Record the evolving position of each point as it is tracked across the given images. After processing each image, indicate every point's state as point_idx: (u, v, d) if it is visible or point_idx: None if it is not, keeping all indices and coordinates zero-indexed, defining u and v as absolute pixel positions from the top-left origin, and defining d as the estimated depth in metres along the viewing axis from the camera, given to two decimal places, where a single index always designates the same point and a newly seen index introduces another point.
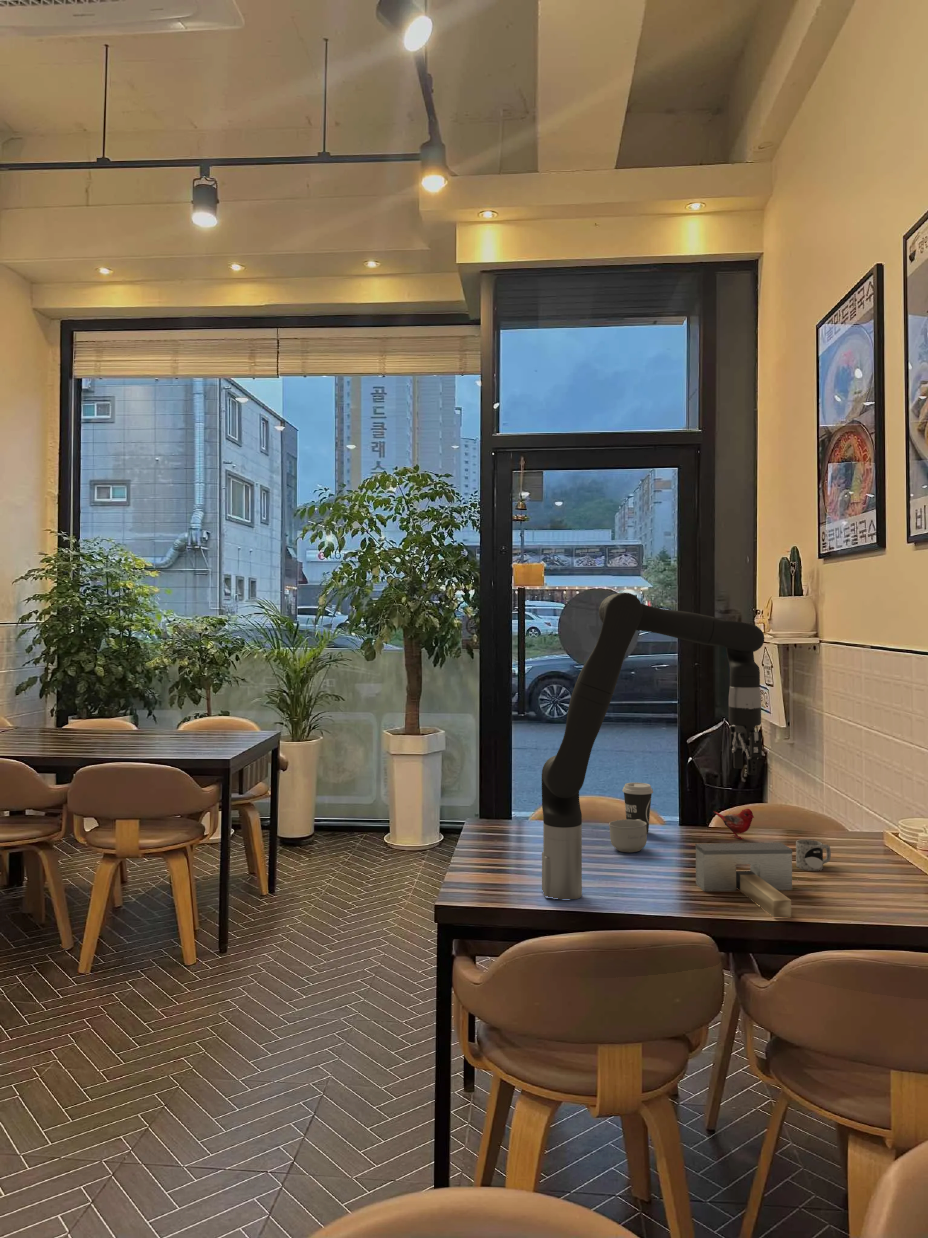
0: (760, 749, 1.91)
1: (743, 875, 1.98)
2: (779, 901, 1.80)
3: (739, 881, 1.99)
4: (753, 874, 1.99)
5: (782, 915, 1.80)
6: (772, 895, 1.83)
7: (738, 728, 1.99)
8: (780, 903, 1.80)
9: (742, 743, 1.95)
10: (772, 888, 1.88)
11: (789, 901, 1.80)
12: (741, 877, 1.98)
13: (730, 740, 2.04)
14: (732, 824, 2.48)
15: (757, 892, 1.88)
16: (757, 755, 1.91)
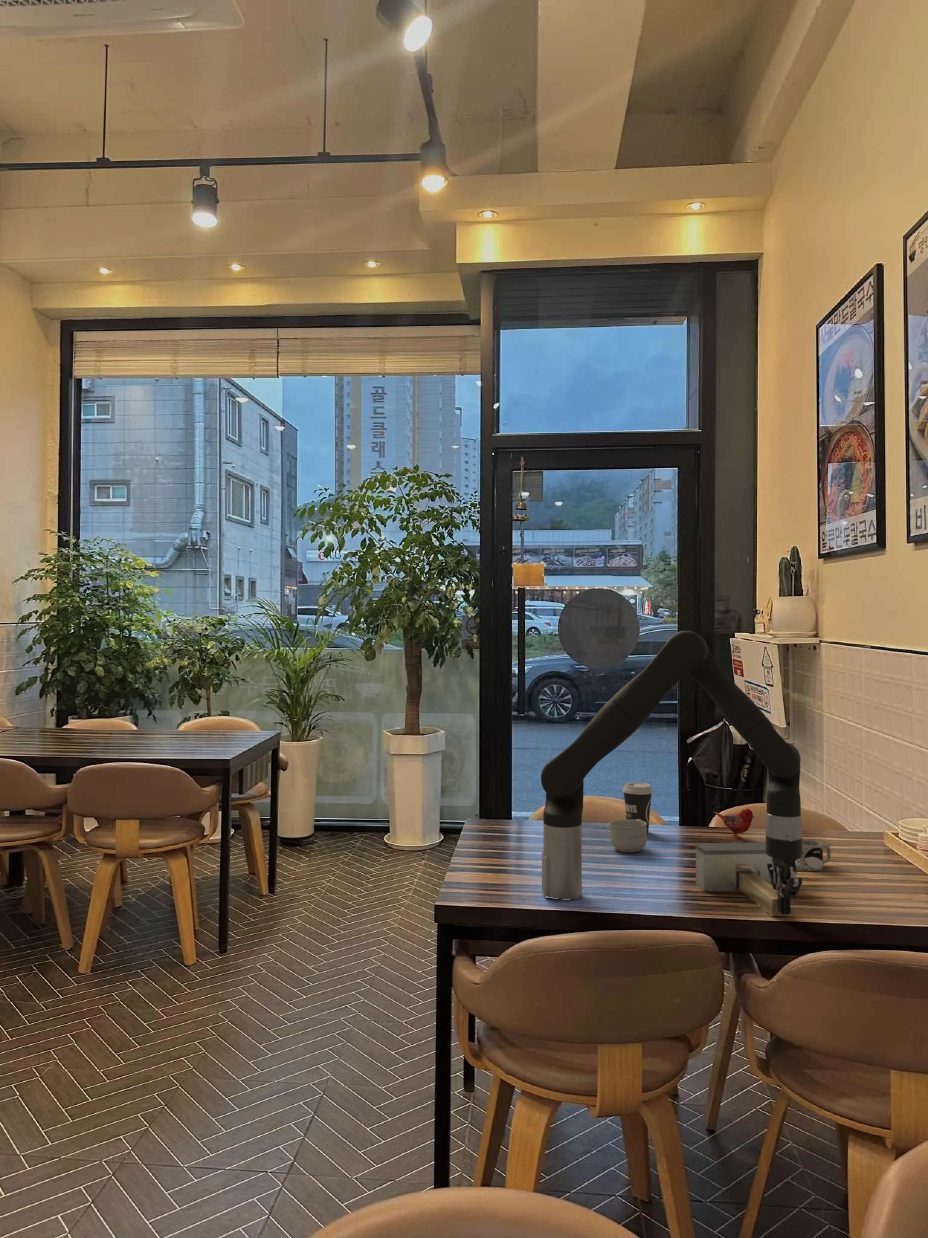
0: (796, 892, 1.75)
1: (742, 874, 1.99)
2: None
3: (738, 880, 2.00)
4: (752, 873, 2.00)
5: (780, 913, 1.80)
6: (771, 893, 1.84)
7: (776, 859, 1.80)
8: None
9: (778, 879, 1.77)
10: (771, 887, 1.89)
11: None
12: (740, 876, 1.98)
13: (772, 879, 1.82)
14: (732, 824, 2.48)
15: (756, 891, 1.89)
16: (791, 895, 1.75)
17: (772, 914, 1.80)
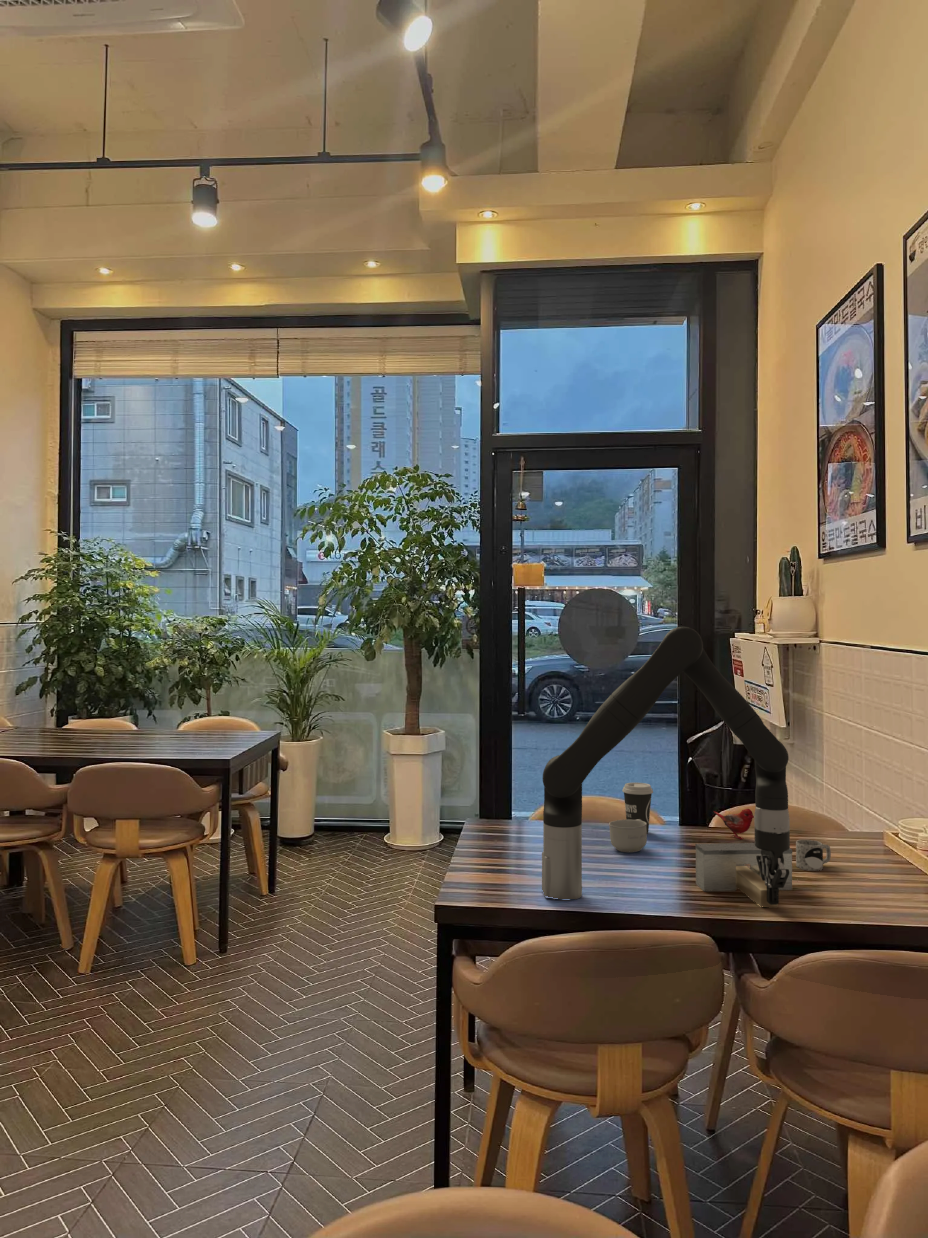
0: (783, 883, 1.81)
1: None
2: (766, 890, 1.87)
3: None
4: (743, 865, 2.06)
5: (769, 904, 1.87)
6: (760, 885, 1.90)
7: (765, 851, 1.86)
8: None
9: (767, 870, 1.83)
10: (760, 879, 1.95)
11: None
12: None
13: (760, 870, 1.88)
14: (732, 824, 2.48)
15: (746, 883, 1.95)
16: (779, 885, 1.81)
17: (761, 905, 1.87)
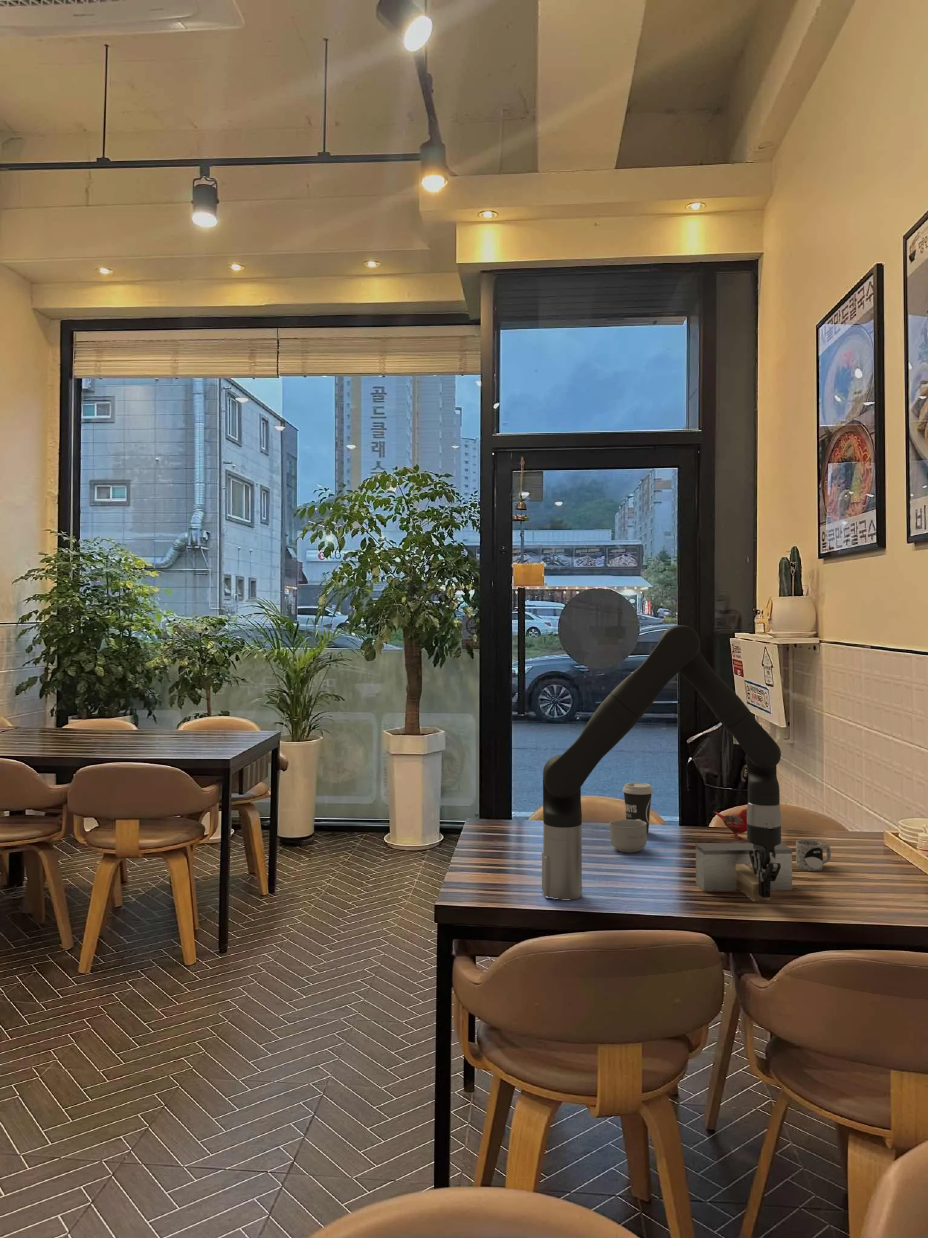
0: (775, 876, 1.85)
1: None
2: (758, 884, 1.91)
3: None
4: None
5: (761, 897, 1.91)
6: (752, 879, 1.95)
7: (757, 846, 1.91)
8: None
9: (759, 864, 1.88)
10: (753, 873, 2.00)
11: None
12: None
13: (753, 865, 1.93)
14: (732, 824, 2.48)
15: (739, 877, 2.00)
16: (770, 879, 1.86)
17: (753, 898, 1.91)
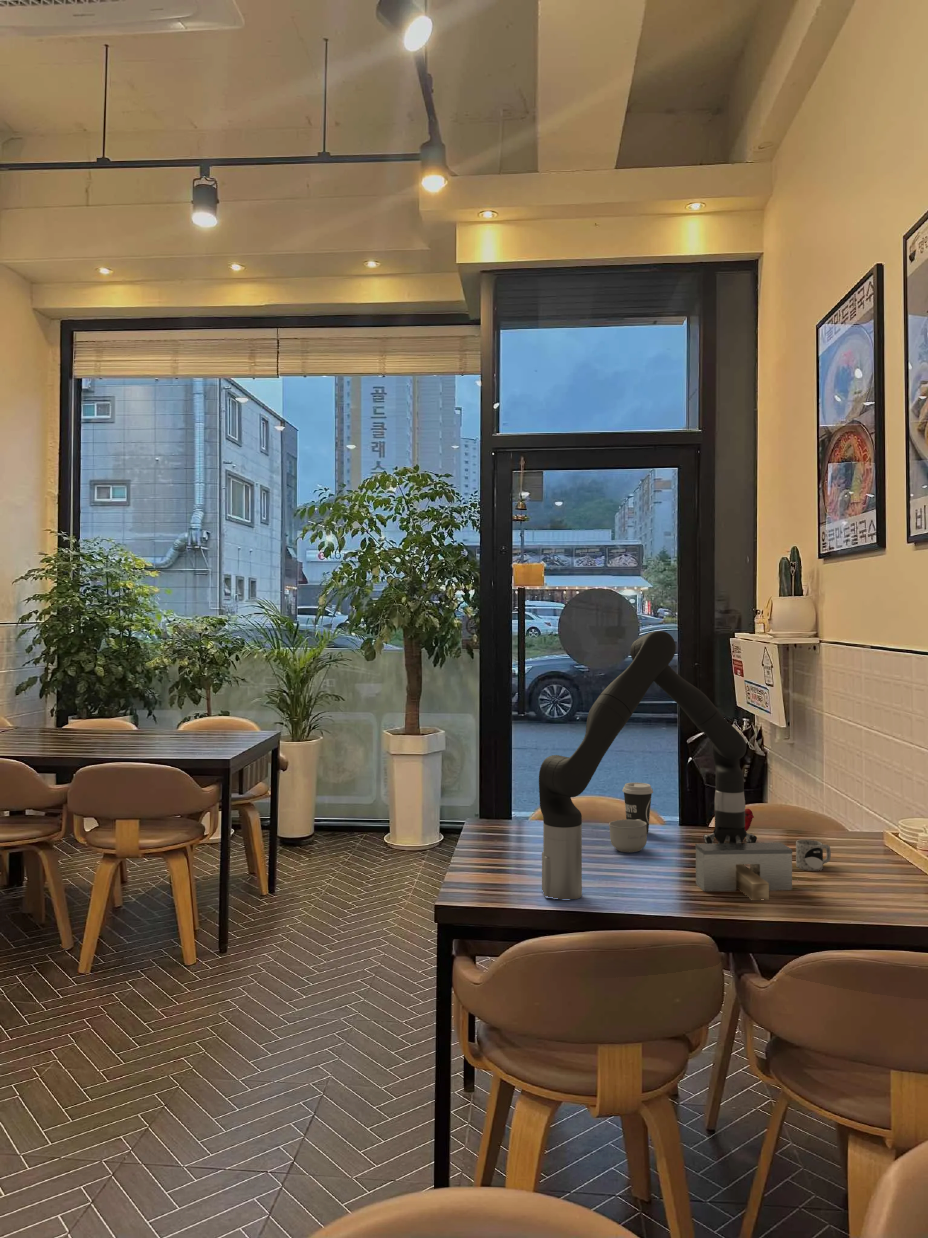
0: None
1: None
2: (758, 884, 1.91)
3: None
4: None
5: (760, 897, 1.91)
6: (751, 879, 1.95)
7: None
8: (759, 886, 1.91)
9: None
10: (752, 873, 2.00)
11: (767, 884, 1.92)
12: None
13: None
14: None
15: (738, 877, 2.00)
16: None
17: (752, 898, 1.91)
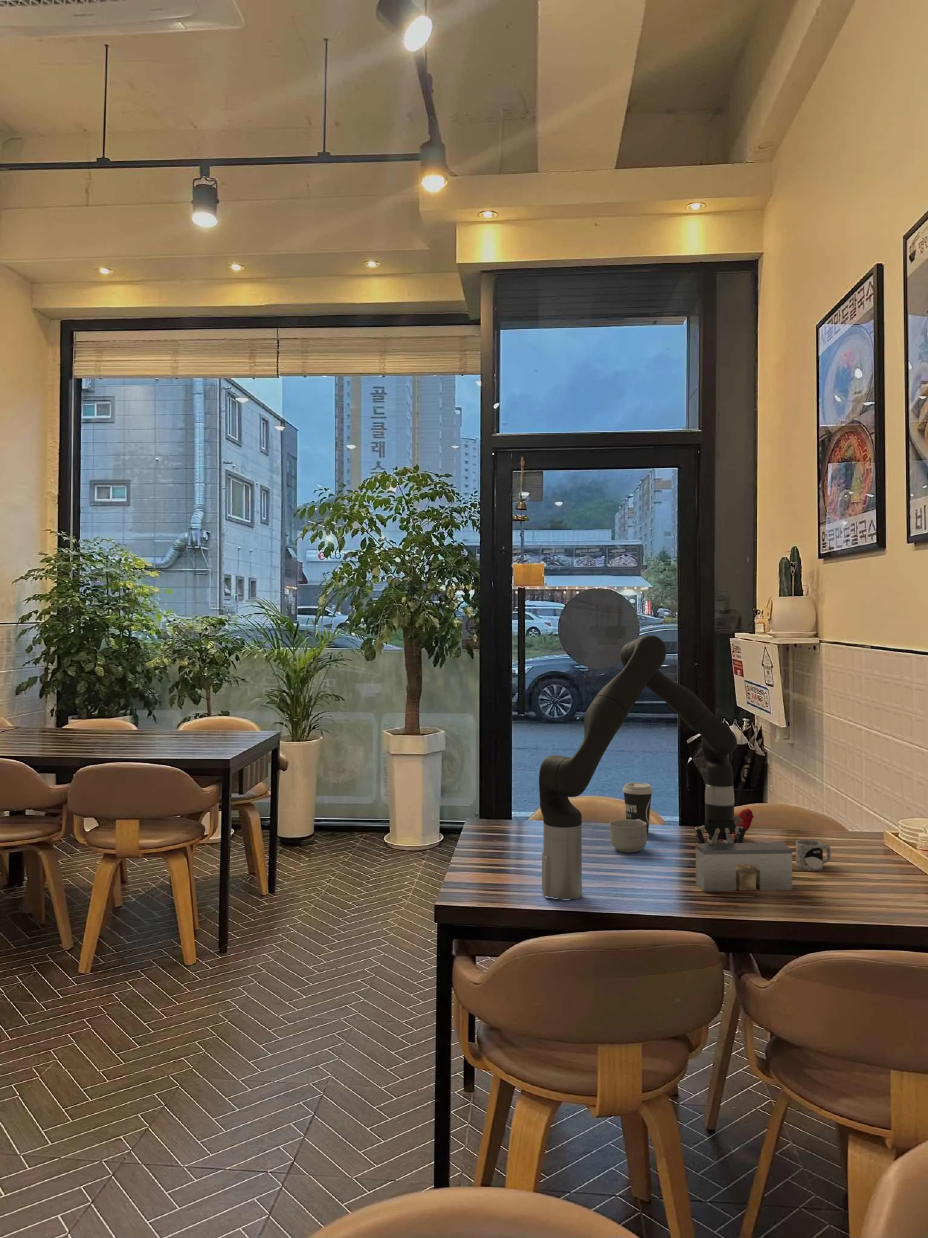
0: None
1: None
2: (745, 874, 1.99)
3: None
4: None
5: (748, 887, 1.99)
6: (739, 869, 2.03)
7: None
8: (746, 876, 1.99)
9: None
10: None
11: (754, 874, 1.99)
12: None
13: None
14: None
15: None
16: None
17: (740, 887, 1.99)
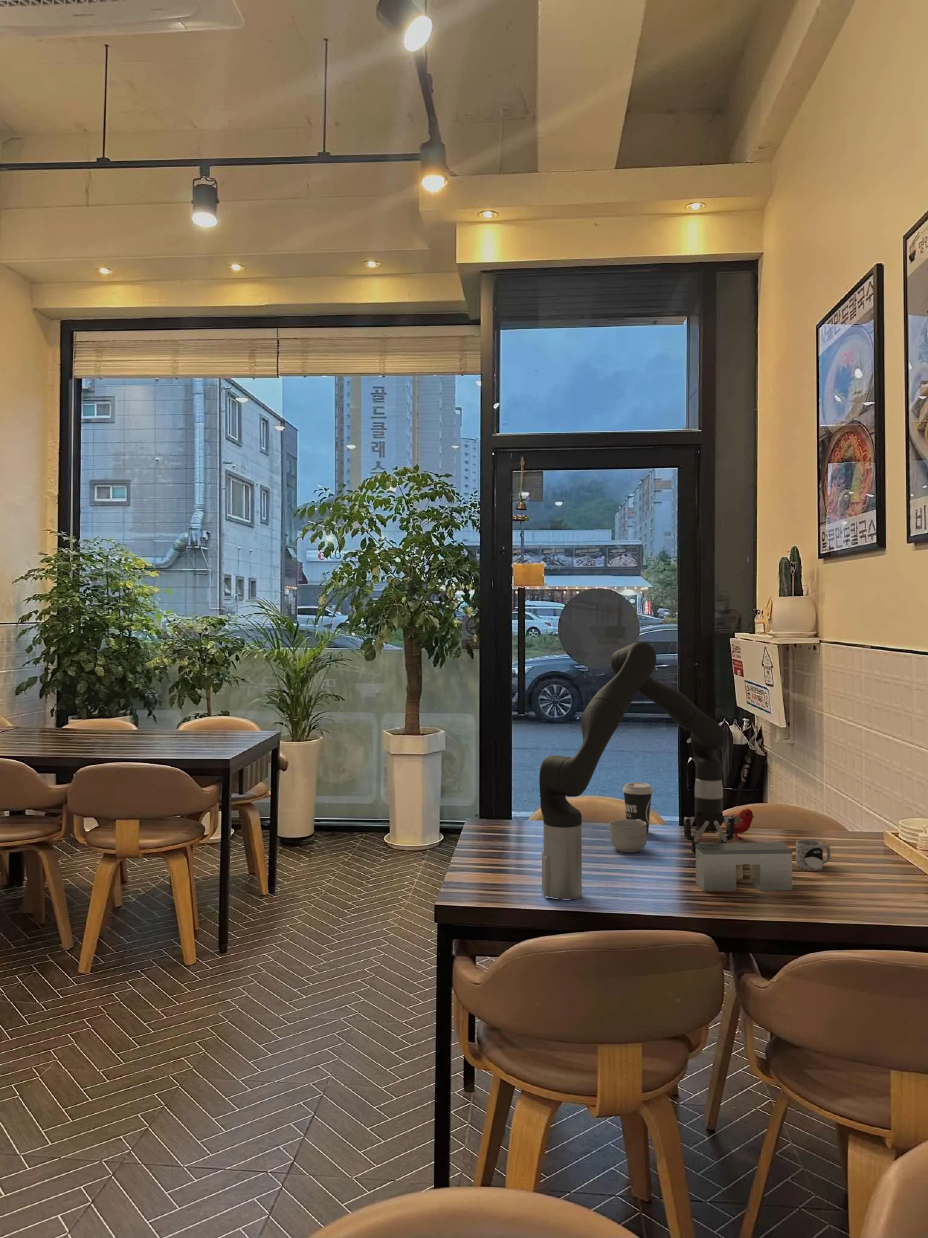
0: None
1: None
2: None
3: None
4: None
5: None
6: None
7: None
8: None
9: None
10: None
11: (741, 865, 2.07)
12: None
13: None
14: None
15: None
16: (686, 837, 2.26)
17: None
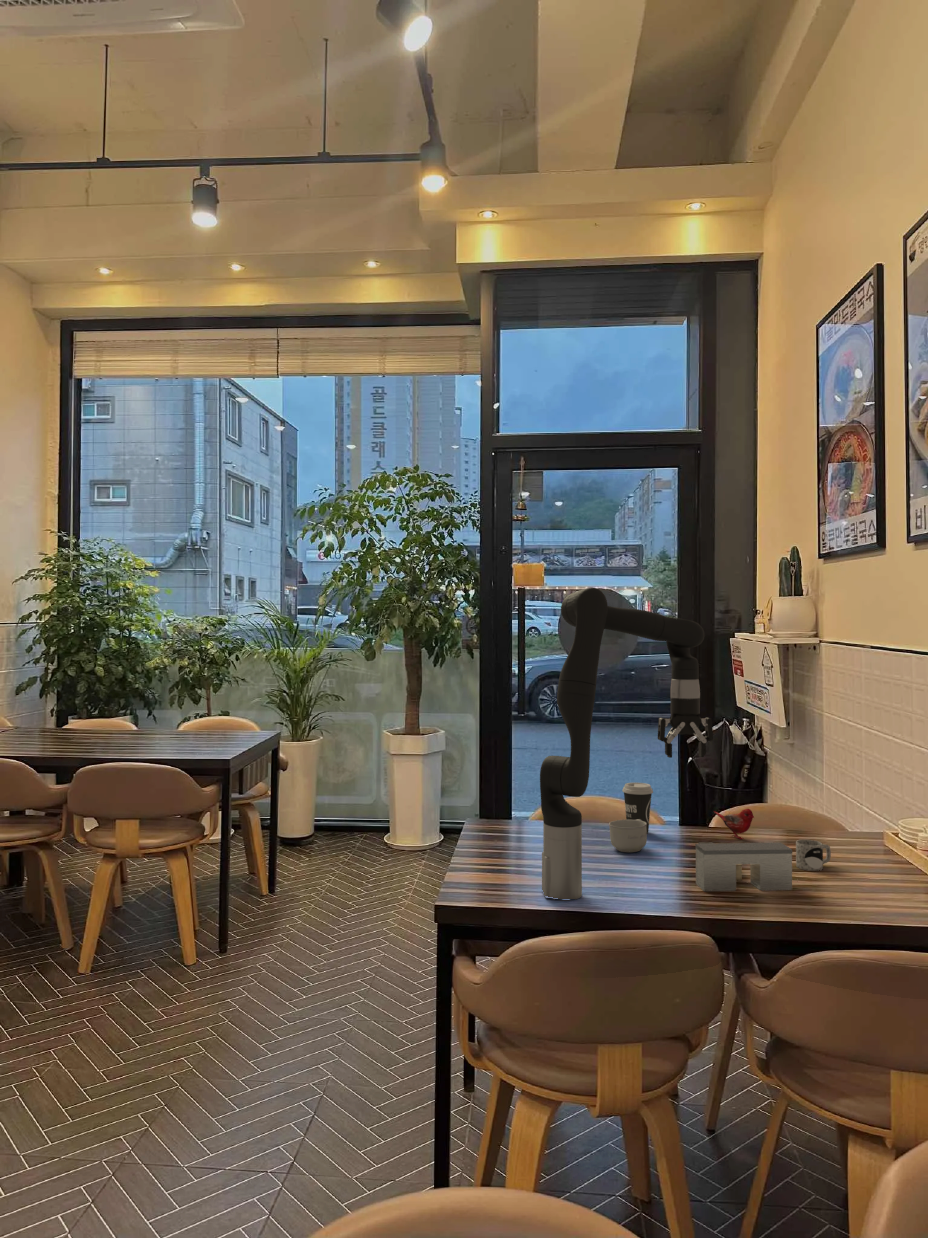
0: None
1: None
2: None
3: None
4: None
5: None
6: None
7: None
8: None
9: None
10: None
11: (740, 865, 2.07)
12: None
13: None
14: (732, 824, 2.48)
15: None
16: (659, 738, 2.15)
17: None
